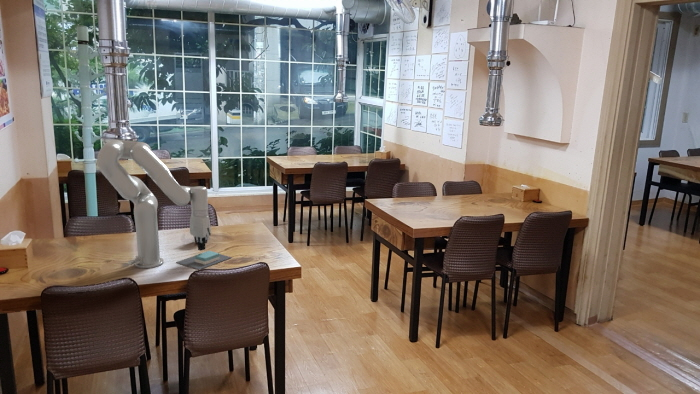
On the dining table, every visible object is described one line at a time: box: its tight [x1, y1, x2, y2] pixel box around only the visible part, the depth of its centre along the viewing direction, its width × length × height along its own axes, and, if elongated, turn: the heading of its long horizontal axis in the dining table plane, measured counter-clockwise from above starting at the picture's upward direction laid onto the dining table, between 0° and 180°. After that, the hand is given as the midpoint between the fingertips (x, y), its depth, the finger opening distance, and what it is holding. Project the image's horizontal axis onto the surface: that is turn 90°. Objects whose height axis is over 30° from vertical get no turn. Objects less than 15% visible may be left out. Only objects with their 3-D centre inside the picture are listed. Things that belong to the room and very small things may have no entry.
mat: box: [175, 253, 232, 271], centre depth 249 cm, size 20×16×1 cm
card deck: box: [194, 250, 220, 265], centre depth 248 cm, size 9×3×7 cm
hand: (201, 249), depth 249 cm, fingers closed
